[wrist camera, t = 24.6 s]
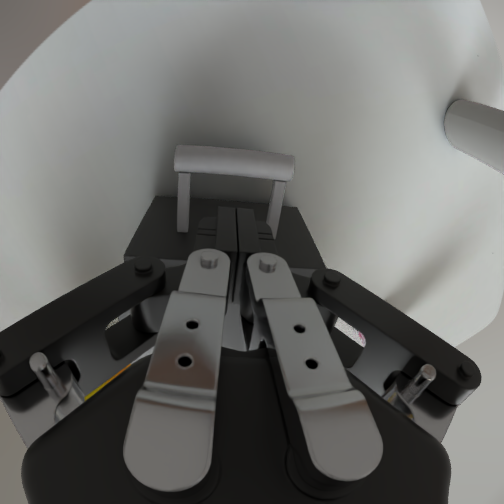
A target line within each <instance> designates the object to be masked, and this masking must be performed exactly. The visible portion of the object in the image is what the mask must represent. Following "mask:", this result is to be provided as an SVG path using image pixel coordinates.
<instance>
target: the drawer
mask: <svg viewBox="0 0 504 504" xmlns="http://www.w3.org/2000/svg"><path fill="white" fill-rule="evenodd" d="M294 169H295V159H294V156H292V155H286V154H278V153H271V152H263V151H254V150H244V149H234V148H223V147H210V146H195V145H177V146H176V149H175V155H174V170H175V171H178V172H179V175H178V197H168V196H155V198H154V200H153V201H152V203H151V205H150V207H149V209H148V210H147V212H146V214H145V216H144V217H143V219H142V221H141V223H140V225H139V227H138V229H137V230H136V232H135V234H134V236H133V238H132V240H131V242H130V244H129V246H128V248H127V250H126V252H125V254H124V262H126V261H128V260H130V259H132V258H135V257H139V256H152V257H156V258H158V259H160V260H161V261H162V262H163V263H164V265H165V268H169V267H176V266H180V265H183V264H185V263H187V260H188V257H189V255H190V254H191V253H193V252H194V247H195V241H196V236H197V230H198V225H199V221H201V220H202V219H203V218H204V217H217V216H218V206H220V207H232V208H235V212H236V208H245V209H253V210H254V215H255V220H256V221H265V222H266V223H267V224H268V225H269V226H270V227H271V230H272V233H273V237H274V241H275V244H276V248H277V252H278V255H279V257H281V258H283V259H284V260H285V261H286V262H287V264H288V266H289V269H290V271H291V272H293V273H295V274H298V275H302V276H305V277H309V278H311V276H312V273H313V272H314V271H315V270H317V269H322V268H326V266H325V264H324V262H323V260H322V258H321V256H320V253H319V251H318V249H317V247H316V245H315V243H314V241H313V239H312V237H311V235H310V233H309V230H308V228H307V226H306V224H305V222H304V220H303V218H302V216H301V214H300V212H299V210H298V208H297V207H289V206H282V203H283V198H284V192H285V187H286V181H291V180H292V178H293V175H294ZM191 172H195V173H210V174H222V175H234V176H245V177H255V178H264V179H273V186H272V192H271V198H270V204H260V203H249V202H238V201H226V200H214V199H200V198H190V182H191Z"/></svg>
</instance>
